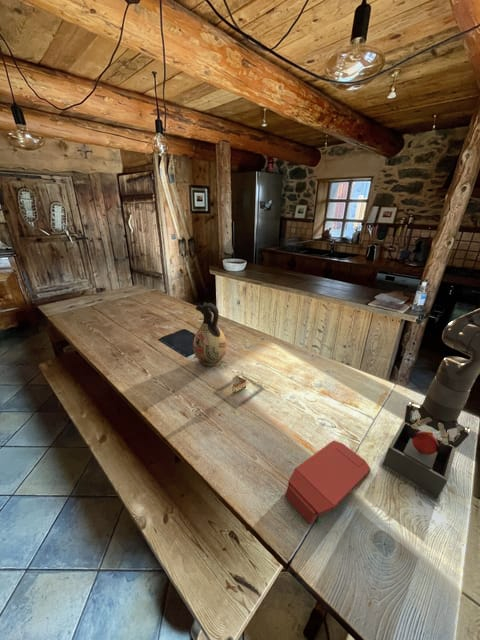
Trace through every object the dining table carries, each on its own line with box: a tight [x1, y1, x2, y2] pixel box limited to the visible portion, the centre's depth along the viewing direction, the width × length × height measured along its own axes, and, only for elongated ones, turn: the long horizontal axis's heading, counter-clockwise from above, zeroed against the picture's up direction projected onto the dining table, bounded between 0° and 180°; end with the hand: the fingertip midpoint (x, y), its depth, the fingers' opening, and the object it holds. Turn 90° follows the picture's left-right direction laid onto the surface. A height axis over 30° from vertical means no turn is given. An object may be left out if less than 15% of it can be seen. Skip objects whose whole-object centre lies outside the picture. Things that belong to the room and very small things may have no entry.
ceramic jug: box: [192, 302, 228, 367], centre depth 117 cm, size 17×15×30 cm
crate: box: [382, 420, 457, 499], centre depth 76 cm, size 14×14×8 cm
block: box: [403, 438, 438, 470], centre depth 76 cm, size 7×7×5 cm
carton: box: [284, 439, 372, 525], centre depth 73 cm, size 12×5×25 cm
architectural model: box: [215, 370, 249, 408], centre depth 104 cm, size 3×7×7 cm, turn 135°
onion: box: [412, 430, 438, 455], centre depth 73 cm, size 6×6×8 cm
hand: (424, 443), depth 73 cm, fingers closed on onion, 6 cm apart
